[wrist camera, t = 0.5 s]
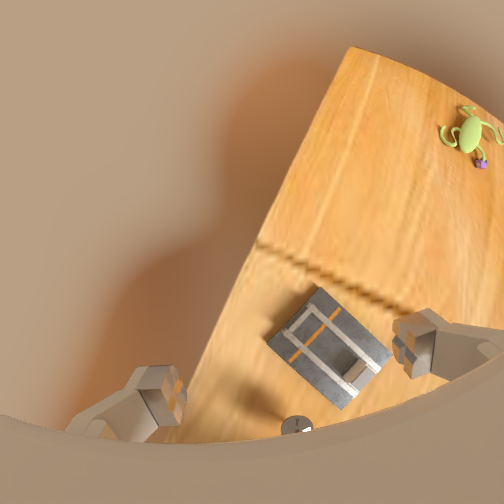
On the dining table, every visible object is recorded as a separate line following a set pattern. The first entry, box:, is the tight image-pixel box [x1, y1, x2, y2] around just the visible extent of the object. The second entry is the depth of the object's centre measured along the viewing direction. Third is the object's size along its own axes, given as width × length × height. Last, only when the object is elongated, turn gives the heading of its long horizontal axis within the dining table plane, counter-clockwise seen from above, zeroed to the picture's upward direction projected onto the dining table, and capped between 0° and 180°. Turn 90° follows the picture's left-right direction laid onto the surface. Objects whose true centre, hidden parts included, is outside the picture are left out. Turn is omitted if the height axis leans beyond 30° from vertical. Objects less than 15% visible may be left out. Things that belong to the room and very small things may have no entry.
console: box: [267, 287, 393, 410], centre depth 53 cm, size 22×16×5 cm
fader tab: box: [343, 359, 376, 393], centre depth 48 cm, size 3×5×7 cm, turn 136°
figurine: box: [440, 105, 504, 169], centre depth 58 cm, size 18×27×6 cm
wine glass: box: [281, 416, 313, 435], centre depth 45 cm, size 8×8×15 cm
